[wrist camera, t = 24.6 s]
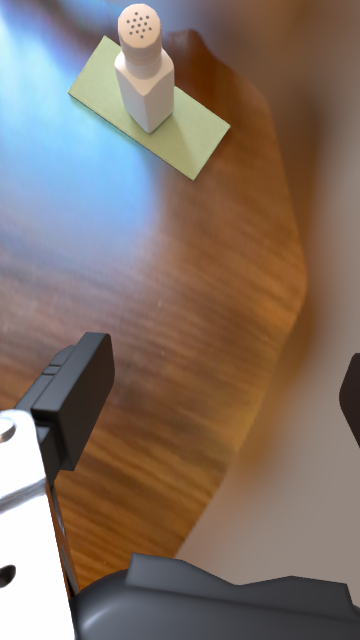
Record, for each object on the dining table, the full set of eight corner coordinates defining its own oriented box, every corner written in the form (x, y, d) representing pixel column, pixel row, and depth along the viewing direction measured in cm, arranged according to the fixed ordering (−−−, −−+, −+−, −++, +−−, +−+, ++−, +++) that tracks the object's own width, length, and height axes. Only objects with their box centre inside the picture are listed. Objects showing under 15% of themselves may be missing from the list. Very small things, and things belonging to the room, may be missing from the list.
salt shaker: (150, 83, 31) (139, -15, 22) (176, 111, 31) (177, 27, 22) (122, 109, 31) (100, 23, 22) (149, 138, 32) (138, 65, 22)
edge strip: (230, 126, 32) (230, 125, 32) (193, 181, 32) (193, 180, 32) (105, 37, 31) (104, 35, 31) (68, 93, 31) (67, 92, 31)
